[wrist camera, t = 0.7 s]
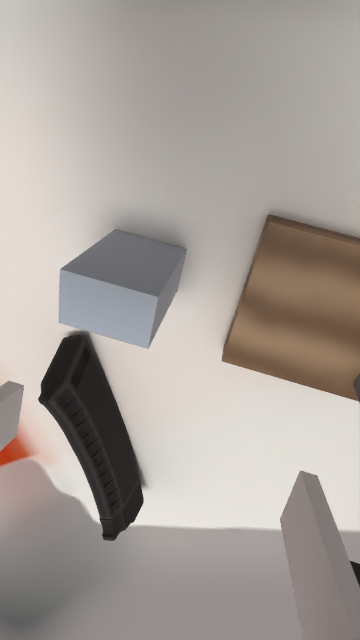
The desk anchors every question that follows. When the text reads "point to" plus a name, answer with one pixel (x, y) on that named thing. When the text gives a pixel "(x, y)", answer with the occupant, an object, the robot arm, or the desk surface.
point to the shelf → (301, 309)
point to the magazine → (94, 432)
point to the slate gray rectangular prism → (121, 287)
